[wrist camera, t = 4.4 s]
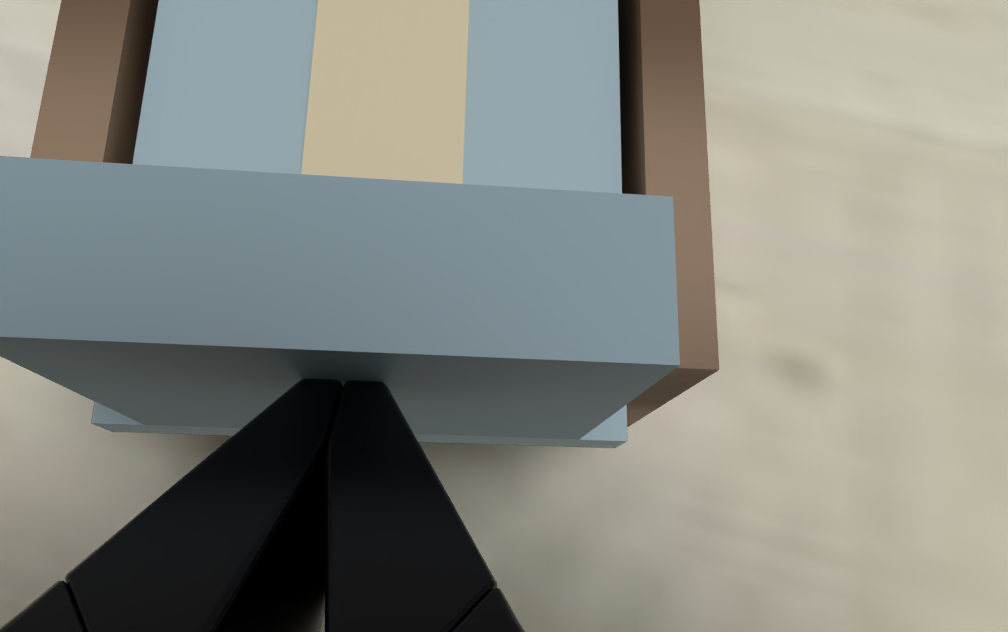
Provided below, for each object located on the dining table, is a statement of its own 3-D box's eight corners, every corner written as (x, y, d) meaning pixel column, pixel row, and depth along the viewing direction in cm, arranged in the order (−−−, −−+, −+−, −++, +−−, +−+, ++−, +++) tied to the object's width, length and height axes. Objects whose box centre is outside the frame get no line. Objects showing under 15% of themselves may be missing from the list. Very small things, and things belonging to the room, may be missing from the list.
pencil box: (622, 430, 18) (719, 369, 12) (138, 413, 17) (-6, 339, 11) (613, -41, 21) (684, -265, 15) (209, -75, 20) (126, -326, 14)
